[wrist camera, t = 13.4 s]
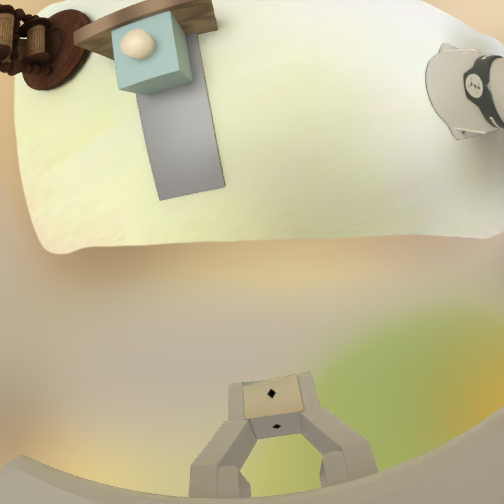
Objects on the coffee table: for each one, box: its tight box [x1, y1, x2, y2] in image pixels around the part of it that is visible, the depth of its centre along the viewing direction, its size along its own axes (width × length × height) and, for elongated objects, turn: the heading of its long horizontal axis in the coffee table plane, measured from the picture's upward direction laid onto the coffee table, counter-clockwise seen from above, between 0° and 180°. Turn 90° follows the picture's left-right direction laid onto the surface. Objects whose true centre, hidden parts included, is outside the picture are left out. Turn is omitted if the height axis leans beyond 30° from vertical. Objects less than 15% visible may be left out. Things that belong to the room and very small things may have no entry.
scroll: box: [0, 4, 91, 90], centre depth 18 cm, size 15×15×20 cm
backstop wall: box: [74, 0, 218, 60], centre depth 24 cm, size 16×2×12 cm, turn 99°
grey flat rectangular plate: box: [136, 33, 225, 201], centre depth 34 cm, size 10×24×1 cm, turn 9°
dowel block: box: [111, 11, 194, 96], centre depth 25 cm, size 7×8×13 cm
